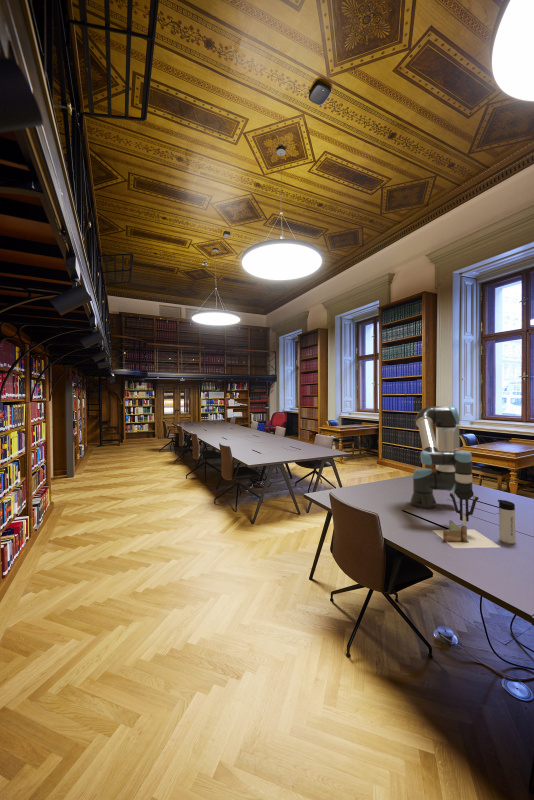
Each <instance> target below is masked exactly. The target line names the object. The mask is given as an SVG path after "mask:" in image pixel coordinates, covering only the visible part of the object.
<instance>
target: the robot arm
mask: <svg viewBox="0 0 534 800" xmlns="http://www.w3.org/2000/svg"><path fill="white" fill-rule="evenodd" d="M459 424H460V416H459V412H458V409H457V408H456V407H455V406H454V405H453V406H452V405H439V406H436V405H435V406H430V405H429V406H425V407H424V408H422V409H420V410H419V411H418V412H417V415H416V416H415V425H416V427H418V431H419V432H418V433H419V436H420V440H421V446H422V450H421V451H420V453H419V454H420V456H419V457H420V463H421V464H422V465H425V466H426V465H428V466H437V467H436V468H435V471H433V469H432V468H427V467H425V468H424V467H423V468H417V469H415V470H414V471H412V481H413V482H412V483H413V484H412V487H413V488H412V490H413V492H412V495H411V498H410V505H412V506H414V507H416V508H420V509H427V510H428V509H435V508H437V501H436V499H435V496H434V491H448V492H450V493H449V497H450V498H451V500H452V503H453V507H454V510H455V511H454V512H455V513H456V514H458V515H459V520H460V521H461V522H462V526H466V527H467V522H469V521H470V520H469V519H470V518H469V516H472V515H474V512H475V507H476V504H477V502H478V500H479V496H478V495H476V494H475V493H474V491H473V457H472V455H473V454H472V452H470V451H468V450H454V449H455V448H454V430H455V429H456V428H457V425H459ZM433 425H434V426H435V428H436V429H437V440H436V436H435V432H434V428H433ZM437 444H438V445H437ZM451 491H452V492H451ZM456 497H457V498H458V499H459V508H458V504H457V501H456ZM471 499H472V503H471V506H470V510H469V500H471ZM463 501H465V503H464V505H465V513H463Z"/></svg>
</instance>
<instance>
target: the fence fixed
mask: <svg viewBox="0 0 534 800" xmlns="http://www.w3.org/2000/svg"><path fill="white" fill-rule="evenodd" d="M460 528H461V531H447V530H448V529H442V530H443V539H442V540H443V541H444V542H446V541H463V542H467V530H468V527H467V525H466V526H463V525H461V527H460Z"/></svg>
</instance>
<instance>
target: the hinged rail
mask: <svg viewBox="0 0 534 800" xmlns="http://www.w3.org/2000/svg"><path fill="white" fill-rule="evenodd" d="M448 530H450V531H461V527H460V526H459V525H457V524H456V523H455V522H453V520H451V519H450V520H449V519H448Z"/></svg>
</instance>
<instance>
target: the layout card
mask: <svg viewBox="0 0 534 800" xmlns="http://www.w3.org/2000/svg"><path fill="white" fill-rule="evenodd" d="M443 530H444V529H439V530H438V529H434V530H433V529H432V530H431V531H432V532H433V533H435V535H437V536H438V537H440V538H441V540H443ZM446 530H447V531H450V530H449V529H446ZM445 543H447V544H448V545H449V546H450V547H451V548H453V549H480V548H483V549H485V548H486V549H487V548H488V549H489V548H492V549H493V548H501V546H500V545H499V544H497V543H495V541H492V540H491V539H489V538H488V537H486V536H484V535H483V534H482V533H481V532H478V531H477V530H475V529H474V528H473V529H467V542H463V541H445Z"/></svg>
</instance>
